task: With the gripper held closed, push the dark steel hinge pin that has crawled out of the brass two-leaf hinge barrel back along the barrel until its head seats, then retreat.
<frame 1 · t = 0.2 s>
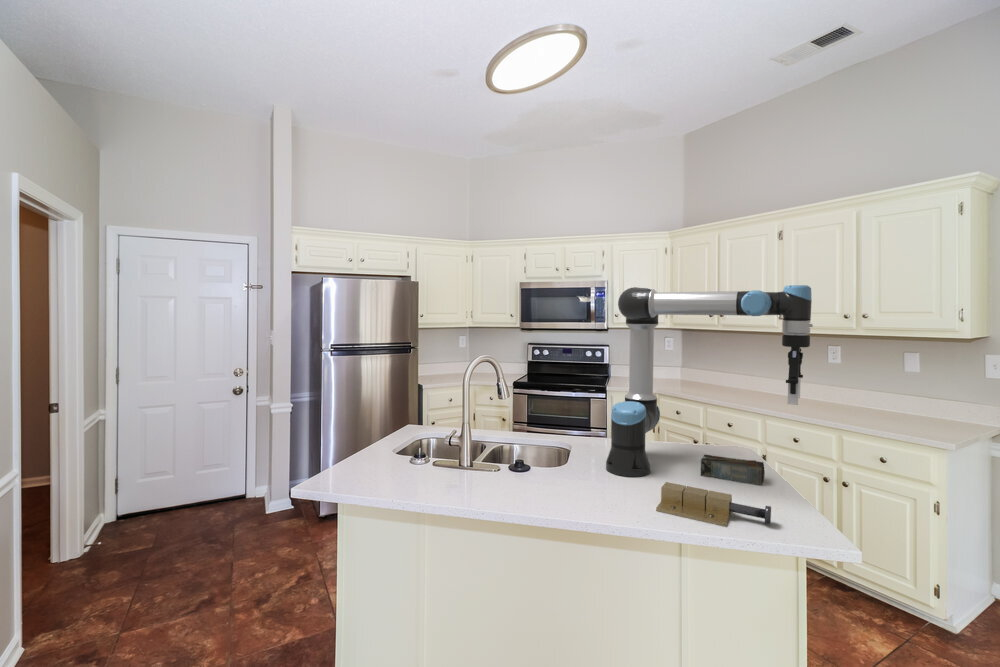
hand: (793, 400, 153), 28 cm above the countertop, fingers open, 13 cm apart
hinge: (695, 508, 138), on the countertop
hinge pin: (730, 507, 133), point 3 cm above the countertop, slide at 8.0 cm
dark brown rectangular block: (731, 478, 164), on the countertop
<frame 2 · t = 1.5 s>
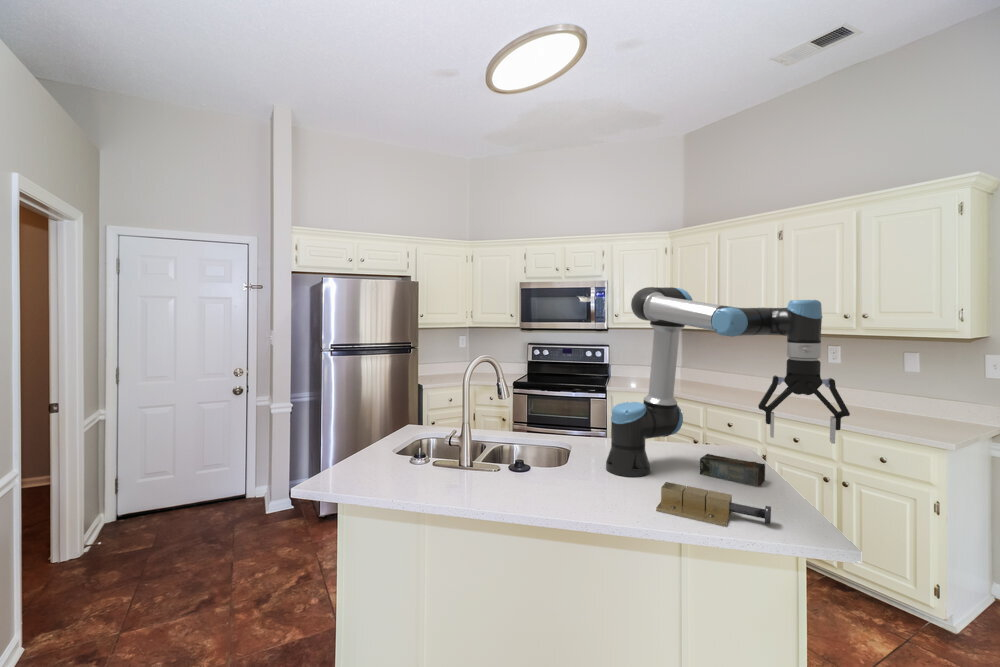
hand: (801, 439, 127), 23 cm above the countertop, fingers open, 13 cm apart
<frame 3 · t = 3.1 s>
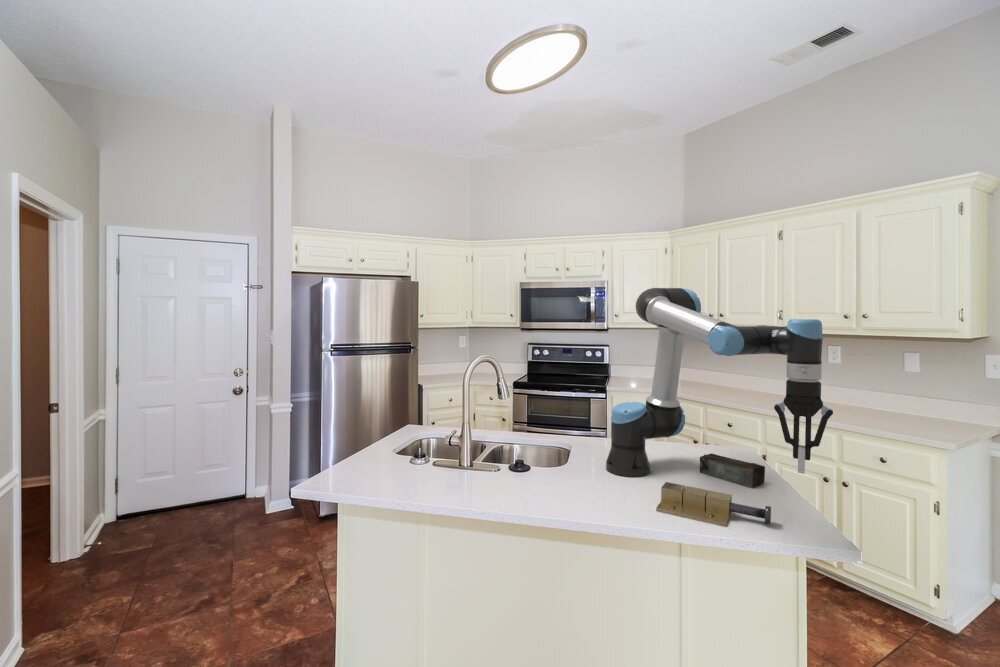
hand: (801, 471, 123), 16 cm above the countertop, fingers closed
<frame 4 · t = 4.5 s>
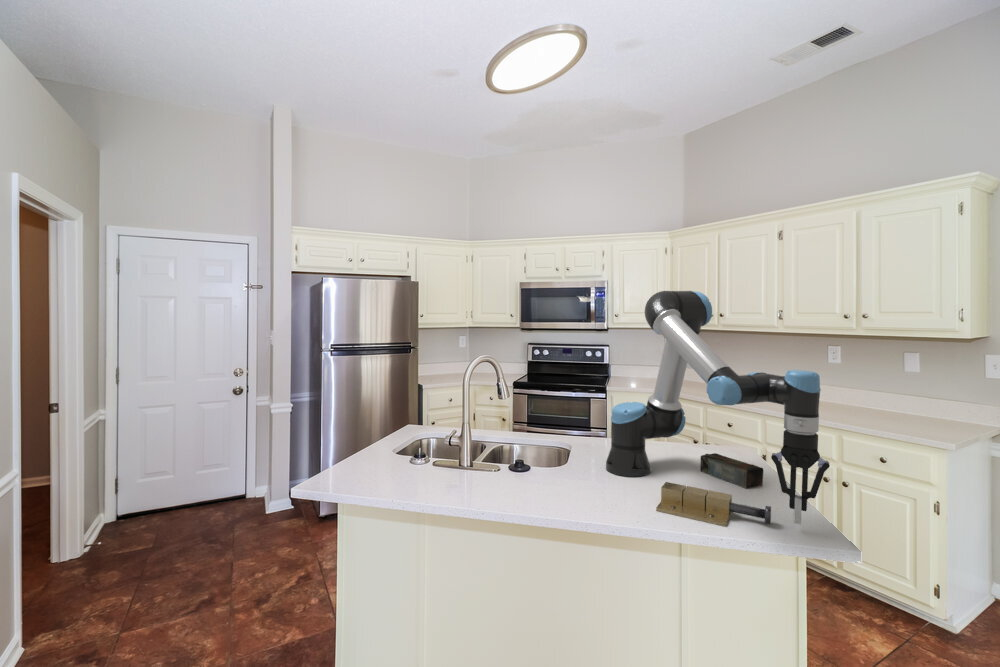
hand: (797, 521, 124), 2 cm above the countertop, fingers closed
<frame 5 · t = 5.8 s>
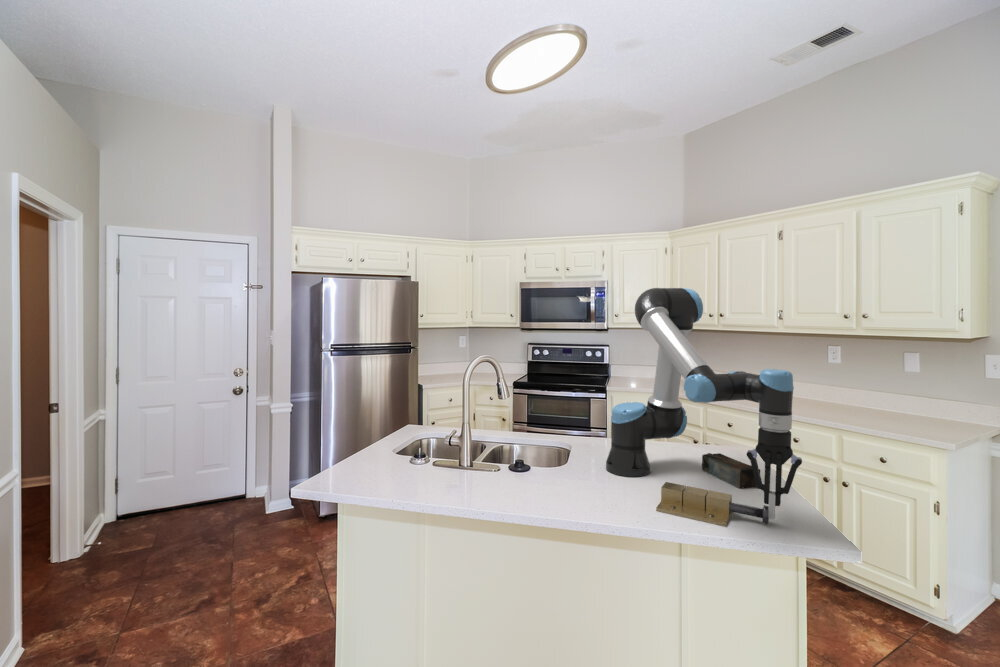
hand: (771, 516, 128), 2 cm above the countertop, fingers closed
hinge pin: (728, 506, 133), point 3 cm above the countertop, slide at 7.5 cm, touching gripper
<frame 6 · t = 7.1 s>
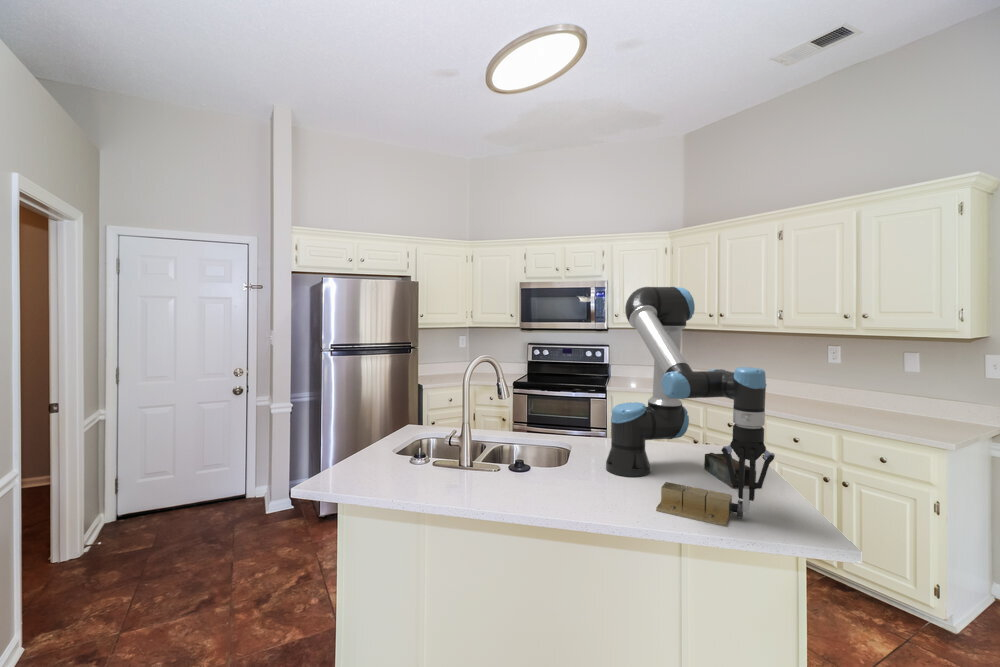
hand: (745, 511, 131), 2 cm above the countertop, fingers closed
hinge pin: (705, 501, 136), point 3 cm above the countertop, slide at 1.4 cm, touching gripper
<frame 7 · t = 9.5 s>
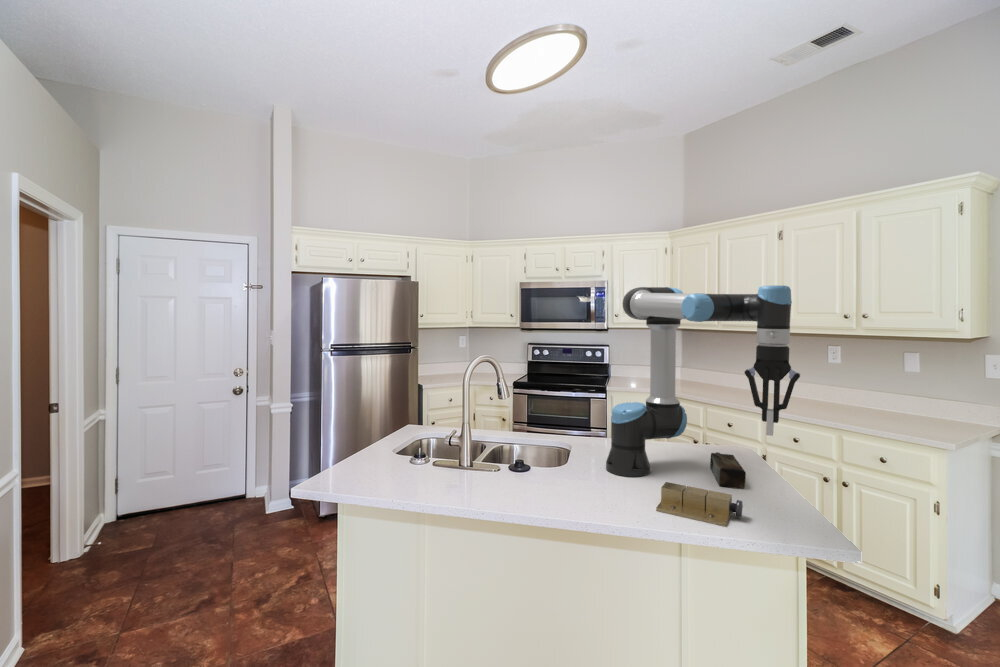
hand: (769, 434, 127), 24 cm above the countertop, fingers closed
hinge pin: (703, 501, 137), point 3 cm above the countertop, slide at 1.1 cm
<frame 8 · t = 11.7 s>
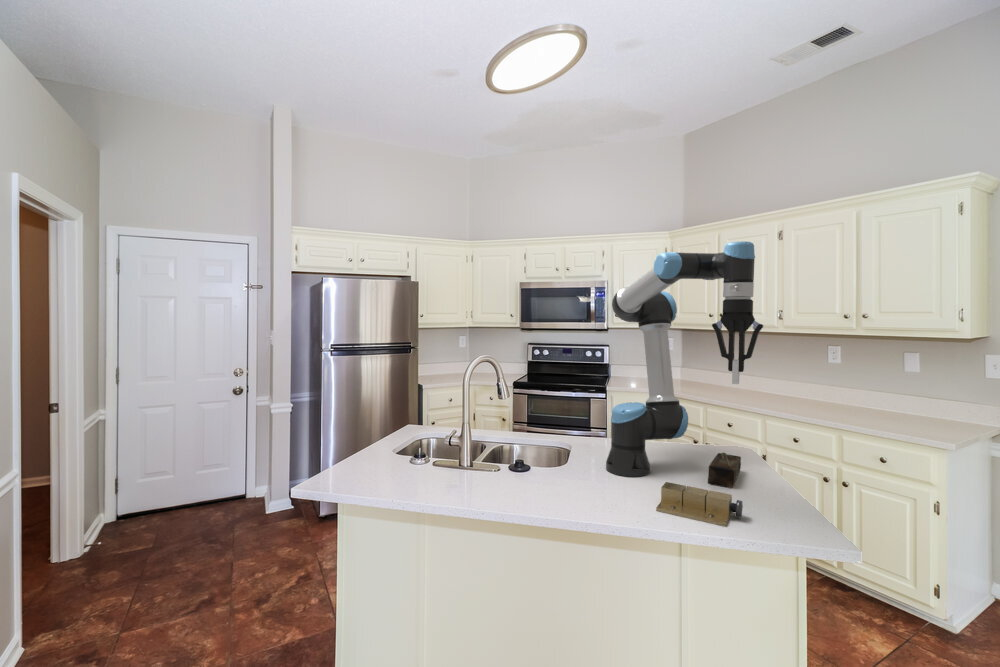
hand: (735, 383, 134), 36 cm above the countertop, fingers closed
at the end: hinge pin slide at 1.1 cm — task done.
